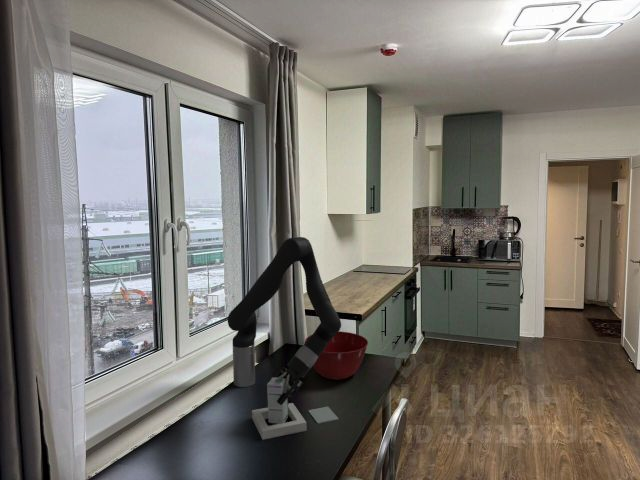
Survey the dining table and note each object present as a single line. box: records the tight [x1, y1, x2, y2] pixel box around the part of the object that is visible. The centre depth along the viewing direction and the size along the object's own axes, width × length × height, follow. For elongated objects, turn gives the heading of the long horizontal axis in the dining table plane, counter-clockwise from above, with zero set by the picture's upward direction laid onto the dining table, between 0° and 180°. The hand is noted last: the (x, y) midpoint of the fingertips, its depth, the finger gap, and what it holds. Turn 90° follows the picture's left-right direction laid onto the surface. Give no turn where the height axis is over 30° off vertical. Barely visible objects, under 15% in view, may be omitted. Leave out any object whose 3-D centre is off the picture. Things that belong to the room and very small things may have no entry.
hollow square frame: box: [251, 402, 308, 441], centre depth 160 cm, size 16×16×3 cm
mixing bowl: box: [304, 330, 369, 381], centre depth 203 cm, size 28×28×15 cm
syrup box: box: [266, 377, 289, 425], centre depth 160 cm, size 6×6×14 cm
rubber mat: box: [307, 406, 340, 425], centre depth 166 cm, size 10×8×1 cm
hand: (274, 398), depth 159 cm, fingers closed on syrup box, 8 cm apart
